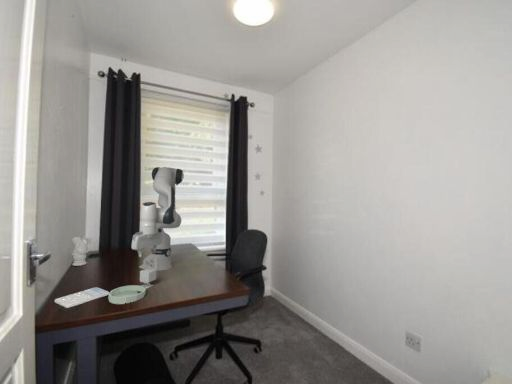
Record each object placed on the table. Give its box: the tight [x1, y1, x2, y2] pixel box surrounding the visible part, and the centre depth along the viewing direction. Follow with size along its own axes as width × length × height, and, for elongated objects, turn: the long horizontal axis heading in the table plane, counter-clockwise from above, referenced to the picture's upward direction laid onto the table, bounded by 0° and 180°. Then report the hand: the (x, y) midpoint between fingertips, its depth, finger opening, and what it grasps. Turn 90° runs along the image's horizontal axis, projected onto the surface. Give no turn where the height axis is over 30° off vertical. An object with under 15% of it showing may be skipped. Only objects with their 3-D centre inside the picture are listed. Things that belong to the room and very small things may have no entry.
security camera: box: [139, 268, 157, 290], centre depth 144 cm, size 6×7×10 cm
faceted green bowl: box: [107, 284, 147, 305], centre depth 130 cm, size 17×17×3 cm
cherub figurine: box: [71, 234, 92, 267], centre depth 187 cm, size 12×12×22 cm
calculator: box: [54, 287, 110, 309], centre depth 128 cm, size 13×20×2 cm, turn 150°
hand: (147, 254), depth 143 cm, fingers open, 8 cm apart
